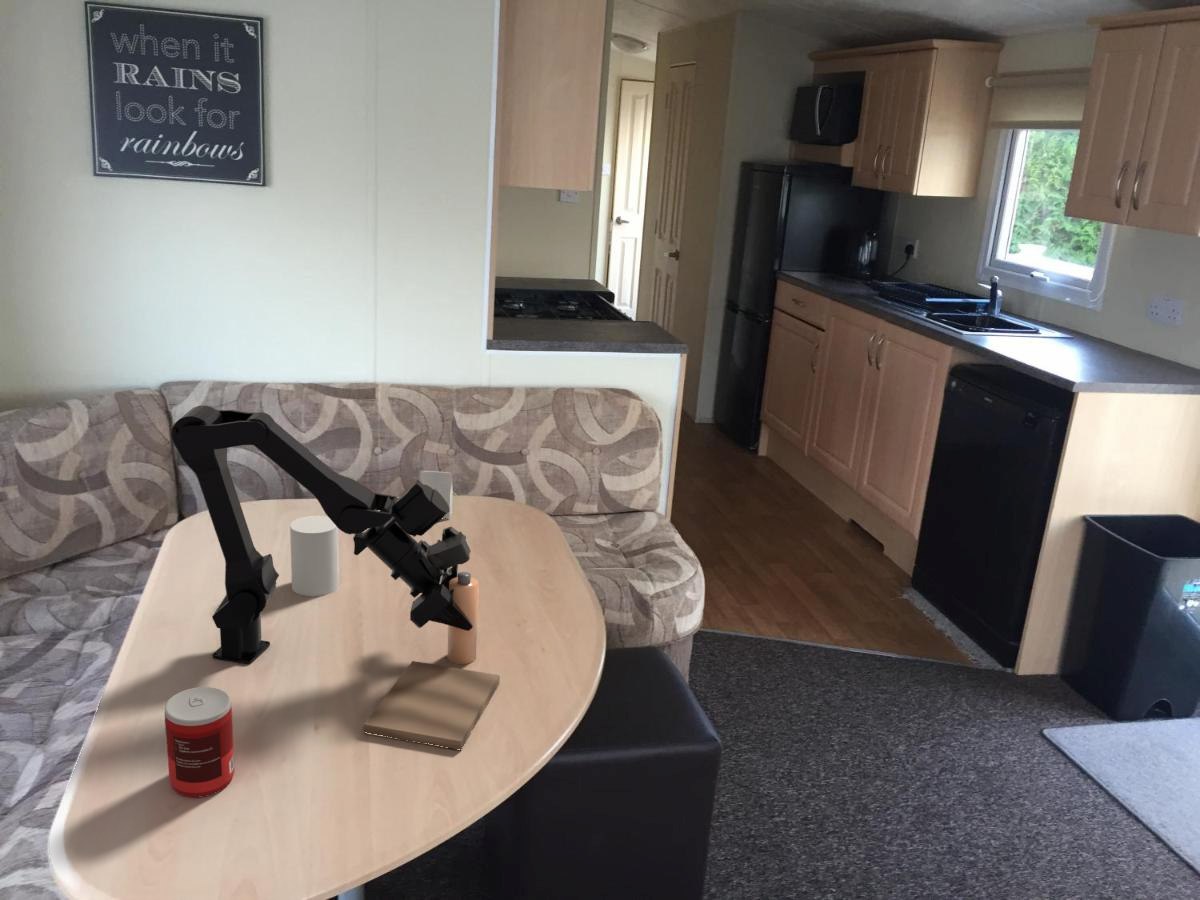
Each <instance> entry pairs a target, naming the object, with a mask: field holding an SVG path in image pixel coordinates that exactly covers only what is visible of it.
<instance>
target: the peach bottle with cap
mask: <svg viewBox="0 0 1200 900" xmlns="http://www.w3.org/2000/svg"><path fill="white" fill-rule="evenodd" d="M479 585H480V581H479V580H478V579H477V578H475V577H472V576H471V573H470V572H468V571H460V572H458V577H456V578H453V579H451V580H450V581H449V592H450V591H451V590H452V589H454V602H455V603H456V604H457V605H458V607H459V608H460V609H461V611H462V612H463V613H464V614H465V616H466V617H467V618H468V619H469V621H470V622H471V624H472V625H473V628H472V629H470V630H469V631H466V630H463V629H459V628H456V627H453V626H449V625H447V652H446V653H447V657H446V658H447V660H448V661H449V662H450V663H452V664H454V665H455V664H456V665H468V663H469V664H471V663H473V662H475V661H476V660H477V653H478V652H477V651H478V650H477V649H478V625H479V623H478V621H479V620H478V618H479V594H480V593H479V590H480V587H479Z"/></svg>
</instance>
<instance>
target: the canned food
mask: <svg viewBox="0 0 1200 900" xmlns="http://www.w3.org/2000/svg"><path fill="white" fill-rule="evenodd" d="M164 705H165V706H164V724H165V725H164V726H165V729H164V730H165V738H166V752H167V763H168V777H169V782H170V785H171V787H172V788H173V789H172V790H174V791H175V792H176V793H177V792H178V793H177V794H179V795H182V796H183V795H184V796H183V797H188V798H200V797H199V796H205V797H207V796H206V795H209V796H211V795H210V794H212V795H214V794H213V793H215V792H217V793H219V792H221V791H222V789H223V788H224V789H225V788H226V787H228V786H229V785H230V783H231V782H232V781H233V777H234V774H235V751H234V750H235V749H234V729H233V728H234V725H233V709H232V700H231V697H230V695H229V693H228V692H226V691H225V690H223V689H221V688H217V687H213V686H212V687H211V686H199V687H198V686H197V687H192V688H188V689H184V690H182V691H179V692H177V693H175V694H174V695H172V696H171V697H170V698H168V700H167V701H166V703H165V704H164ZM228 784H229V785H228ZM227 785H228V786H227ZM224 789H223V790H224ZM220 790H221V791H220ZM218 791H219V792H218ZM215 794H216V793H215Z"/></svg>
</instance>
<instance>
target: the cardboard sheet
mask: <svg viewBox="0 0 1200 900" xmlns="http://www.w3.org/2000/svg"><path fill="white" fill-rule="evenodd" d="M500 681H501V680H500V675H499V674H496V673H495V674H494V673H488V672H482V671H475V670H469V669H465V668H457V667H452V666H445V665H439V664H433V663H428V662H421V661H415V660H411V662H410V664H409V665H408V666H407V668H406V669H405V670H404V671H403V672H402V674H401V675H400V677H399V678H398V679H397V681H396V682H395V683H394V684H393V685H392V687H391V688H390V689H389V691H388V692H387V694H386V695H385V696H384V697H383V699H382V700H381V701H380V703H379V704H378V705H377V706H376V708H375V709H374V710H373V711H372V713H371V714H370V716H369V717H368V718H367V719H366V721H365V722H364V723H363V733H364V732H367V733H371V734H377V735H383V736H386V737H387V736H388V737H392V738H397V739H400V740H399V741H403V740H408V741H415V742H420V743H427V744H428V743H429V744H433V745H439V746H443V747H448V748H453V749H460V750H461V749H462V750H463V748H464V747H463V746H465V745H466V743H467V741H468V740H467V738H468V737H470V736H471V734H472V733H471V731H472V730H473V731H474V729H475V727H476V726H477V724H478V722H479V720H480V719H481V717H482V715H483V713H484V712H485V710H486V708H487V706H488V704H489V703H490V701H491V699H492V698H493V696H494V694H495V693H496V691H495V690H497V689H498V687H499V685H500ZM491 697H492V698H491ZM483 711H484V712H483ZM480 716H481V717H480ZM479 718H480V719H479ZM477 721H478V722H477ZM476 723H477V724H476ZM475 725H476V726H475ZM474 726H475V727H474ZM473 728H474V729H473ZM473 731H472V732H473ZM470 733H471V734H470ZM469 735H470V736H469ZM386 737H385V738H386ZM392 738H391V739H392ZM397 739H396V740H397ZM468 739H469V738H468ZM466 740H467V741H466ZM408 741H407V742H408ZM465 742H466V743H465ZM464 744H465V745H464ZM462 747H463V748H462ZM453 749H452V750H453ZM462 750H461V751H462Z"/></svg>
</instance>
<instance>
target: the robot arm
mask: <svg viewBox="0 0 1200 900" xmlns="http://www.w3.org/2000/svg"><path fill="white" fill-rule="evenodd" d="M170 439H171V441H172V444H173V446H174V447H175V449H176V451H177V453H178V454H179V457H180V458H181V460H182V462H184V464H185V465H186V466H188V468H189V469H190V470H191V471H192V472H193V474H195V476H196V478H197V481H198V484H199V487H200V490H201V492H202V496H203V499H204V502H205V504H206V507H207V510H208V513H209V518H210V519H211V522H212V524H213V525H212V526H213V528H214V531H215V535H216V538H217V540H218V543H219V547H220V550H221V552H222V555H223V558H224V561H225V568H224V569H225V571H224V573H225V574H224V575H225V576H224V587H225V592H226V593H225V596H224V597H223V599H222V601H220V603H219V606H218V607H217V608H216V610H215V611H214V614H212V617H211V618H212V621H213V622H214V624H215V626H216V628H217V629H219V635H220V636H219V637H220V646H219V648H217V650H215V651H214V652H212V656H211V657H212V658H213V659H218V660H225V661H229V660H230V661H231V662H237V663H243V664H251V663H253V662H254V661H255V660H256V659H257V658H258V657H260V655H261V654H262V653H264V652H265V651H266V649H268V648H269V647H270V646H271V642H270V641H268V640H262V621H261V613H262V612H263V611H264V610H265V608H266V606H267V604H268V603H269V600H270V599H271V597H272V595H273V593H274V591H275V589H276V587H277V580H278V578H279V576H280V574H279V573H278V572H277V571H276V568H275V566H274V561H273V559H274V558H273V556H272V554H271V553H268V554H266V555H262V554H260V552H259V551H258V550H257V548H255V545H254V542H253V539H252V536H251V532H250V529H249V527H248V524H247V520H246V517H245V515H244V512H243V509H242V505H241V502H240V498H239V496H238V493H237V490H236V486H235V484H234V481H233V478H232V474H231V472H230V468H229V465H228V448H235V447H241V446H253V447H255V448H256V449H257V450H258V451H259V452H261V453H262V454H264V455H265V456H266V457H267V458H268V459H269V460H271V461H272V462H273V463H274V464H275V465H277V467H279V468H280V469H282V470H283V471H284V472H285V473H287V474H288V475H289V476H290V477H291V478H292V479H294V481H296V482H297V483H298V484H299V485H300V486H302V487H303V488H305V490H307V491H308V492H309V493H311V494H312V495H313V497H314V498H315V499H316V500H317V502H318V503H319V505H320V506H321V508H322V510H323V512H324V513H325V515H326V517H329V518H330V519H331V521H332V522H333V523H334V524H335V525H336V526H337V527H338V530H340V531H341V532H342V533H344V534H347V535H354V536H353V540H352V541H353V545H354V546H353V547H354V548H353V554H354V555H355V556H359V555H360V554H361V553H362V552H363V551H364V550H365V549H367V548H368V550H369V551H371V553H373V554H374V555H375V556H376V557H377V558H378V559H379V560H380V561H382V562H383V564H384V565H386V567H387V568H389V569H390V570H391V574H390V577H391V578H393V580H394V581H396V580H398V579H400V580H401V581H402V582H404V583H405V584H406V586H408V587H409V588H410V592H409V594H410V596H412V597H413V598H414V600H413V601H412V603H411V606H410V612H409V613H410V616H409V617H410V618H409V621H411V622H412V623H413V624H414V625H415V626H416V627H417V628H419V629H421V628H422V627H423V626H425V625H426V624H427V623H429V622H434V623H438V624H441V625H442V624H443V625H446V626H448V625H449V626H453V627H456V628H459V629H463V630H466V631H469V630H470V629H472V628H473V625H472V624H471V622H470V621H469V619H468V618H467V617H466V616H465V614H464V613H463V612H462V611H461V609H460V608H459V607H458V605H457V604H456V603H455V602H454V589H452V590H451V591H450V592H449V581H450V580H451V579H453V578H456V577H458V573H459V565H463V564H465V563H467V562H469V560H470V555H471V554H470V553H471V549H470V546H469V544H468V543H467V540H466V539H467V536H466V535H465V534H463V533H462V531H458V530H457V529H455V527H453V526H449V527H446V528H443V530H442V534H441V535H442V536H441V539H437V541H436V543H433V544H431V545H430V544H429V543H428V542H426V541H425V540H422V539H420V540H419V541H417V540H416V539H414V538H415V537H416V536H418V537H419V536H420V537H422V536H423V535H424V534H425V533H427V532H428V531H429V530H430V529H432V527H434V526H435V525H436V524H437V523H438V522H439V521H441V520H443V519H442V518H443V517H444V516H445V515H446V514H447V513H449V512H450V509H449V506H448V504H447V502H446V501H445V499H444V498H443V497H442V495H441V494H440V493H439V492H438V491H437V490H436V489H432V488H431V487H430V486H428V485H423V484H422V483H421V482H420V479H417V480H415V481H414V482H413V483H412V484H411V485H410V486H409V488H408V489H407V490H406V491H405V492H404V493H402V495H400V496H399V497H398V496H395V495H390V494H384V493H379V492H378V493H376V492H373V491H372V490H371V489H370V488H368V487H367V486H365V485H364V484H362V483H360V482H358V481H356V480H355V479H354V478H351V477H348V476H346V475H345V476H344V475H342V474H340V473H338V472H336V471H334V470H333V469H331V467H329V466H328V465H327V464H326V463H325V462H324V461H322V460H321V459H320V458H318V457H317V455H315V454H314V453H312V451H310V450H309V449H308V448H307V447H305V445H303V444H302V443H301V442H300V441H298V440H297V439H296V438H295V437H294V436H293V435H291V434H290V433H289V432H288V431H287V430H285V429H284V428H283V427H282V426H281V425H280V424H278V422H277V421H275V420H274V418H273V416H271V415H270V414H269V413H266V412H262V411H260V412H259V411H258V412H248V411H242V410H235V409H216V408H214V407H212V406H209V405H205V404H203V405H197V406H194V407H192V408H191V409H190V410H188V411H187V412H186V413H185V414H183V415H182V417H180V418H178V420H176V422H175V423H174V424H173V426H172V428H171V430H170ZM415 598H416V599H415Z"/></svg>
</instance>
